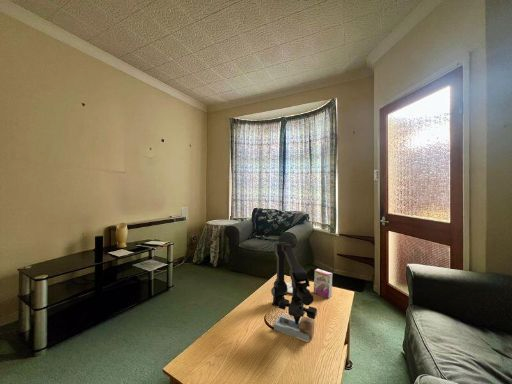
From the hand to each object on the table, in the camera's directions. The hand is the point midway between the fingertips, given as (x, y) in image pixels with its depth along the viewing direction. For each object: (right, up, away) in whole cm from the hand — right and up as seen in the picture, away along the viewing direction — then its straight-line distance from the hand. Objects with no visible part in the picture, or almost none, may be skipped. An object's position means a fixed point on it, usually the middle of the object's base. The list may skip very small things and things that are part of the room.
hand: (297, 324), depth 110 cm
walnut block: (+4, -4, -2) cm, 6 cm away
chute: (-2, -4, +1) cm, 4 cm away
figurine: (+7, -3, +45) cm, 46 cm away
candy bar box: (+25, -3, +38) cm, 45 cm away
